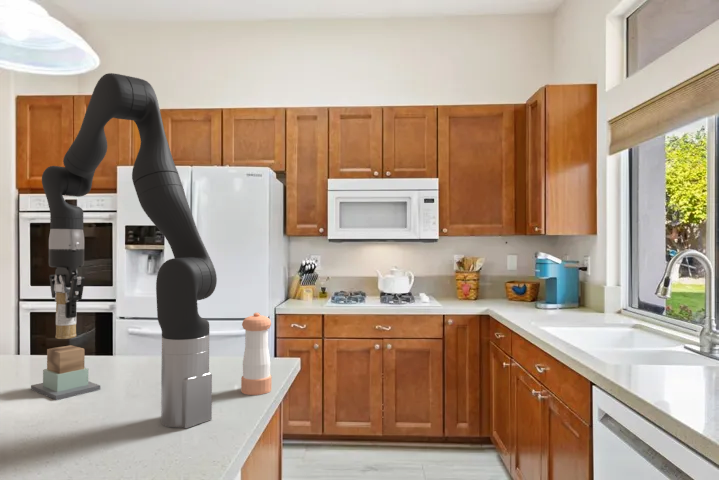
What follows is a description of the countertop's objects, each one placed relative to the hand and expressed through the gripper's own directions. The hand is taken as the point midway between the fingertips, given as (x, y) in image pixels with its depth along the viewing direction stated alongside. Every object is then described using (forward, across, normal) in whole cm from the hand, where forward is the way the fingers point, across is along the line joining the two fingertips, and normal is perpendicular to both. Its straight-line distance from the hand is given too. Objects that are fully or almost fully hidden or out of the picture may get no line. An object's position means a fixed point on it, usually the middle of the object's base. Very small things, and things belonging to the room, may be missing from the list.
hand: (66, 316), depth 118 cm
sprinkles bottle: (+5, 0, 0) cm, 5 cm away
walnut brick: (+13, 0, 0) cm, 13 cm away
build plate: (+18, 0, 0) cm, 18 cm away
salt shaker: (+18, +39, +27) cm, 51 cm away
